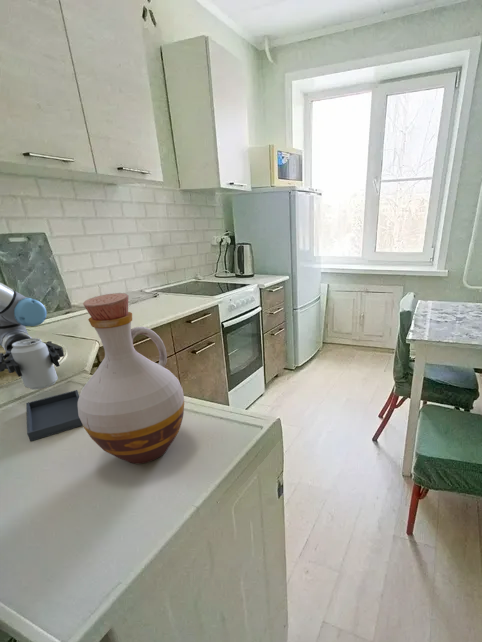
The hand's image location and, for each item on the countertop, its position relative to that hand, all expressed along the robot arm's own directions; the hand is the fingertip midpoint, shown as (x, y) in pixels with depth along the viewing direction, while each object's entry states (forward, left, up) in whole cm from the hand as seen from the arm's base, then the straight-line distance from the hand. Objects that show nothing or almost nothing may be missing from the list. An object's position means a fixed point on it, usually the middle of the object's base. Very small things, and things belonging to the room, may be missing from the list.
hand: (38, 366), depth 87 cm
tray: (+5, -9, -10) cm, 15 cm away
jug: (+30, -27, -10) cm, 42 cm away
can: (-3, +4, -7) cm, 8 cm away
